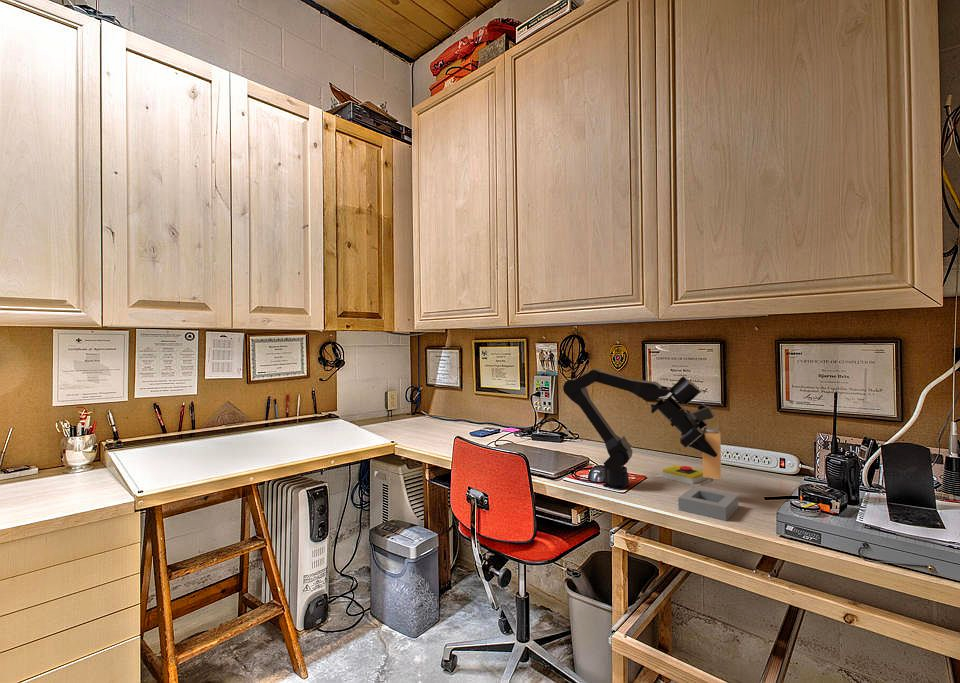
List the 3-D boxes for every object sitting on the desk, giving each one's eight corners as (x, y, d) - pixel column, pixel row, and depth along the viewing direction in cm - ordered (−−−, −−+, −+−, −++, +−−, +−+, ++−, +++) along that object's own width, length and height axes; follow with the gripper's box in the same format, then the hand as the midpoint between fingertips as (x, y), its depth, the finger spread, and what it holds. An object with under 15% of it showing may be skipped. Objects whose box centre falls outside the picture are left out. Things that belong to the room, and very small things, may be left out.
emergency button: (697, 474, 145) (655, 464, 157) (697, 487, 145) (655, 477, 157) (711, 468, 151) (670, 460, 163) (712, 481, 151) (670, 472, 163)
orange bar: (702, 476, 133) (701, 429, 133) (704, 472, 137) (703, 426, 137) (720, 479, 131) (719, 430, 131) (721, 475, 134) (720, 428, 134)
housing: (678, 510, 126) (678, 497, 126) (693, 498, 135) (693, 486, 135) (725, 521, 118) (725, 507, 118) (738, 507, 126) (738, 495, 126)
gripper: (691, 400, 128) (737, 443, 122) (699, 393, 144) (740, 430, 138) (662, 426, 132) (705, 468, 126) (673, 416, 148) (711, 453, 142)
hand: (716, 454), depth 133 cm, fingers closed on orange bar, 4 cm apart
